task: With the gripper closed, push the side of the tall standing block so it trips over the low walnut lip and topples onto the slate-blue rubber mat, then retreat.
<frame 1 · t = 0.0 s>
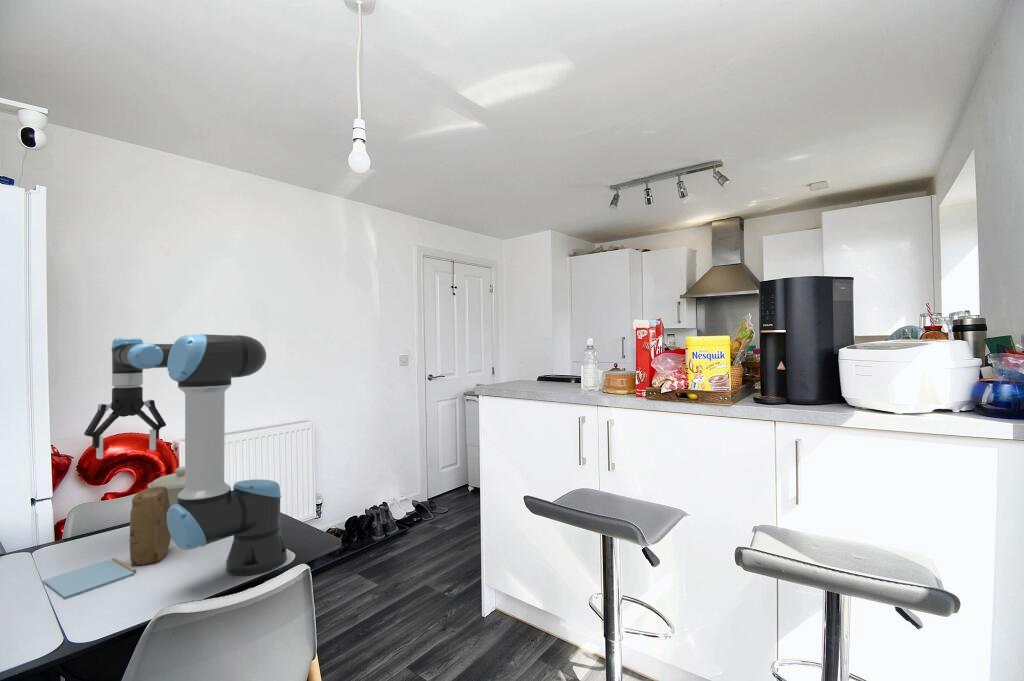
hand: (127, 454, 146), 28 cm above the table, tool pointing down, fingers open, 13 cm apart
canister: (181, 529, 157), on the table
mat: (89, 578, 124), on the table
block: (151, 558, 135), on the table
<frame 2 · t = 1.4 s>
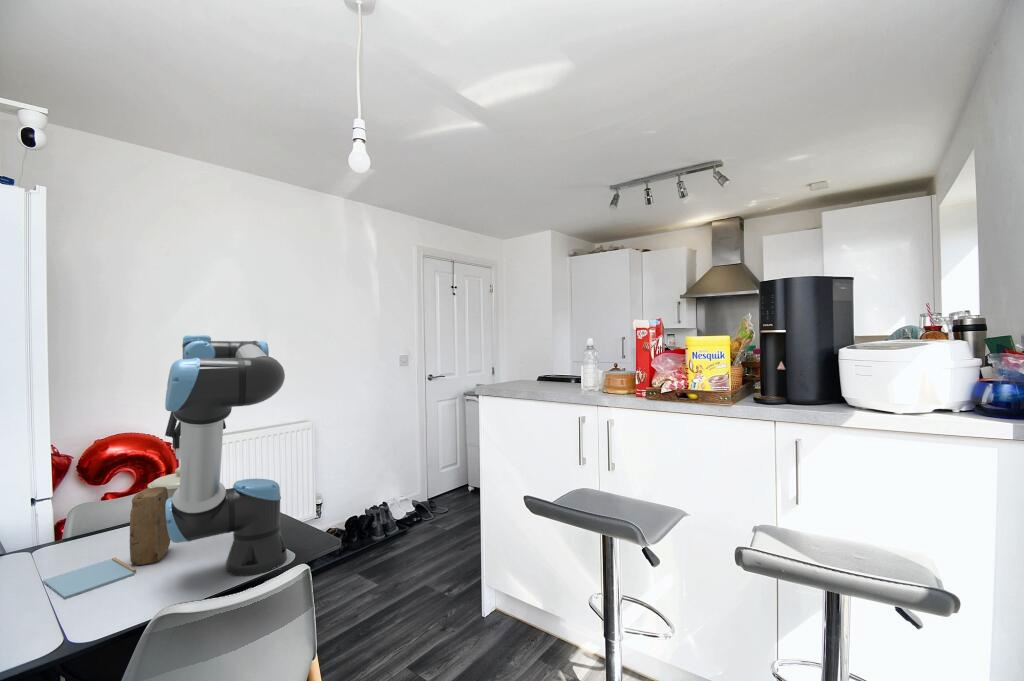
hand: (196, 455, 146), 27 cm above the table, tool pointing down, fingers open, 9 cm apart
nothing on the table moved.
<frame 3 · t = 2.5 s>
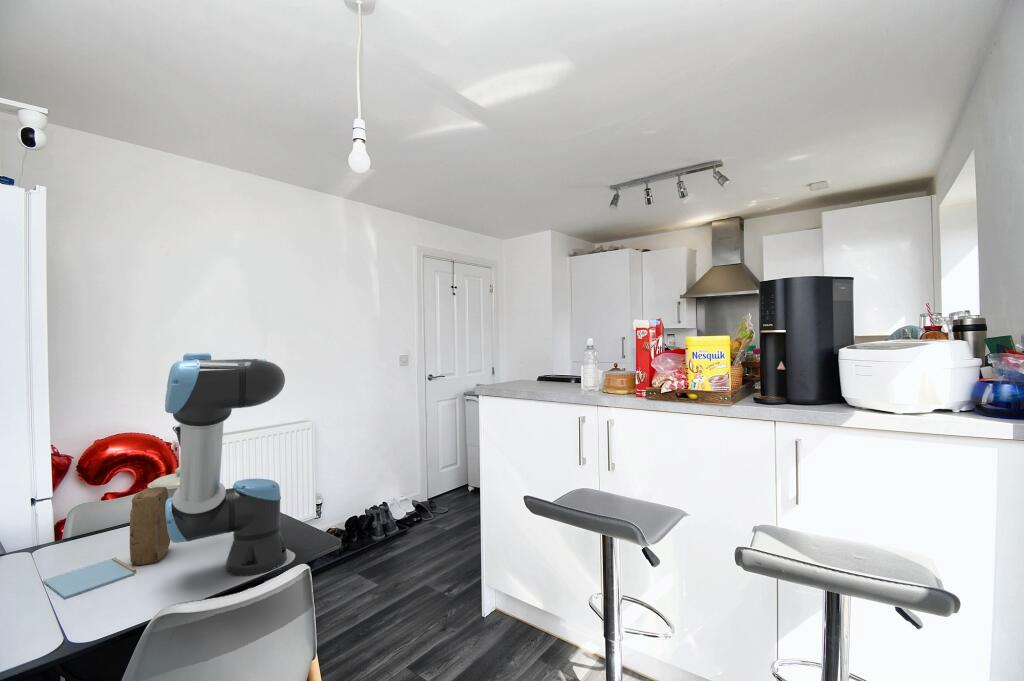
hand: (196, 476, 146), 21 cm above the table, tool pointing down, fingers closed
nothing on the table moved.
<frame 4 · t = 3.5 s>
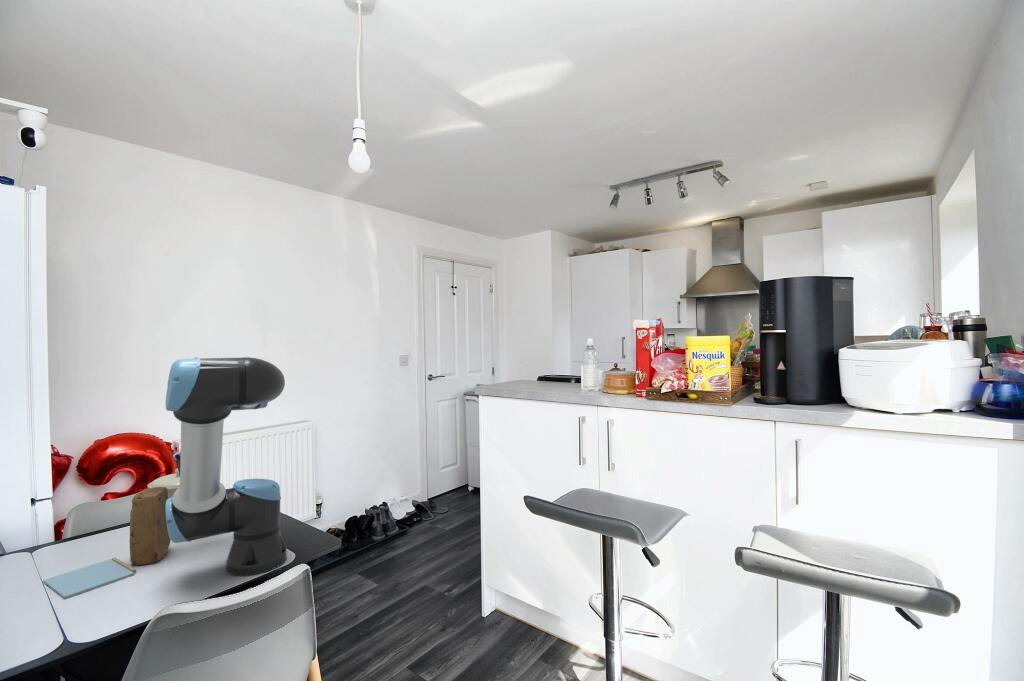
hand: (196, 503, 146), 12 cm above the table, tool pointing down, fingers closed
nothing on the table moved.
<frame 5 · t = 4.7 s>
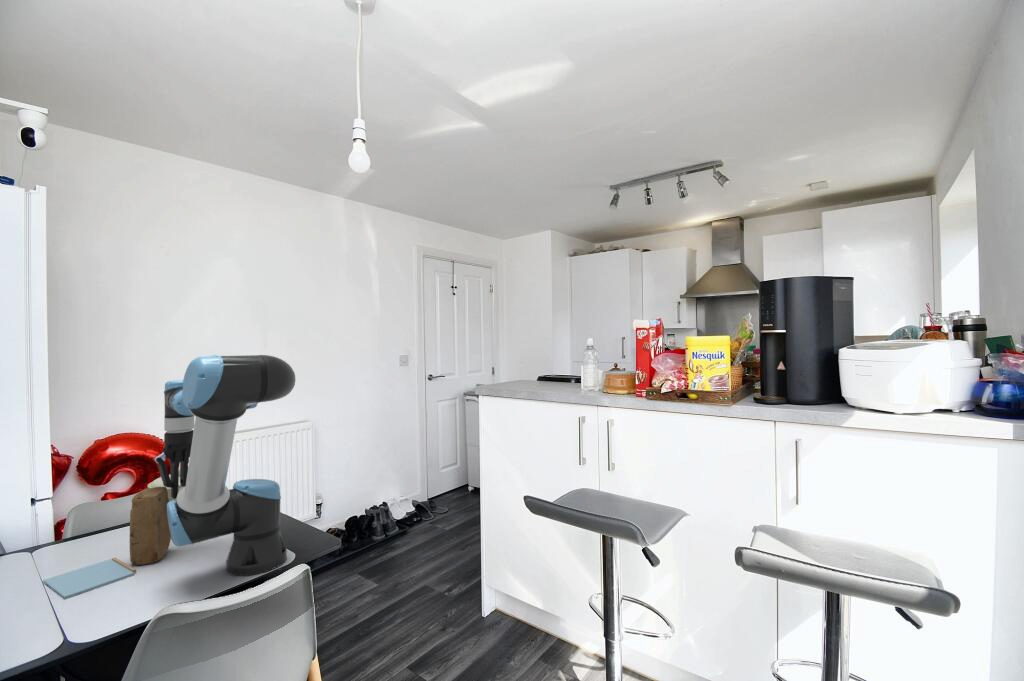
hand: (179, 507, 142), 12 cm above the table, tool pointing down, fingers closed
block: (151, 558, 135), on the table, touching gripper, hand
everything else where it was.
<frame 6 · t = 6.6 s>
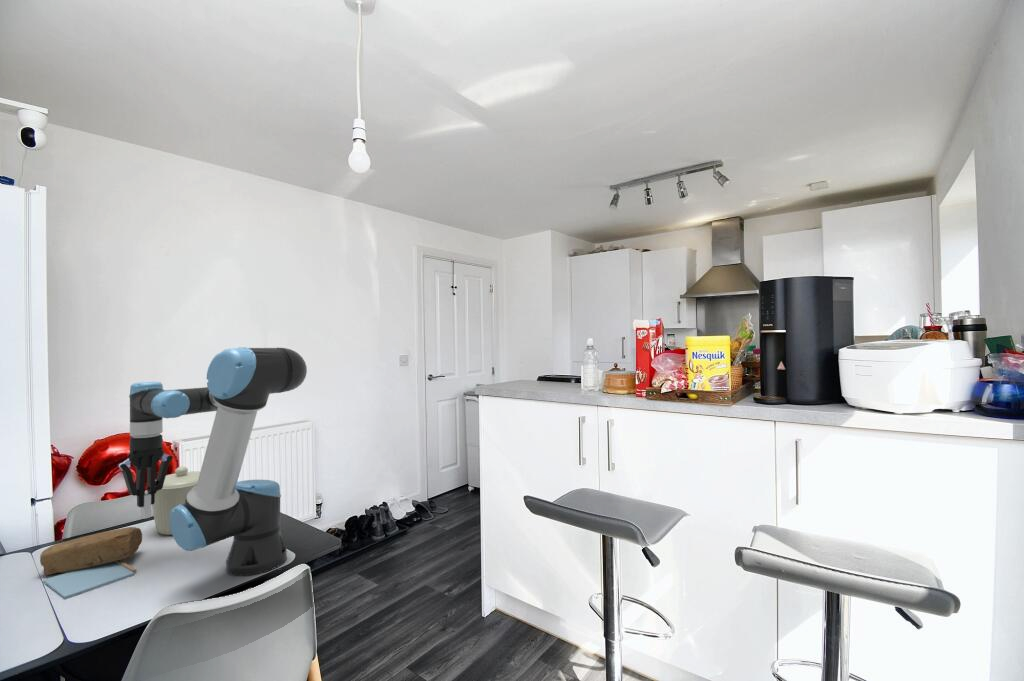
hand: (145, 516, 134), 12 cm above the table, tool pointing down, fingers closed
block: (137, 539, 135), point 5 cm above the table, touching mat
everything else where it was.
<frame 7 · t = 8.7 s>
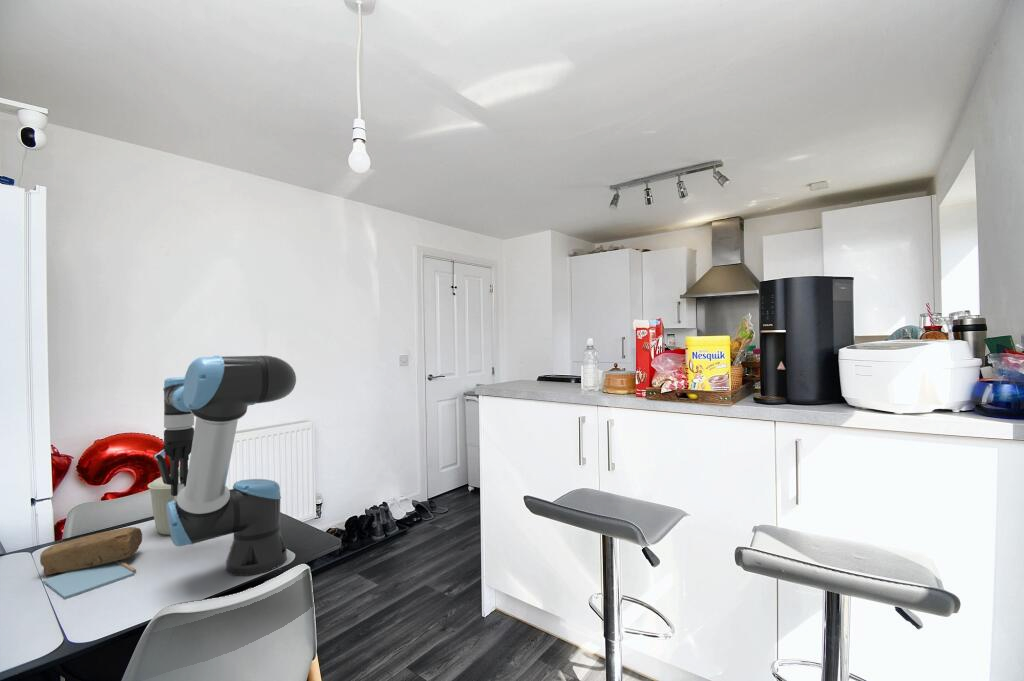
hand: (179, 505, 141), 13 cm above the table, tool pointing down, fingers closed
nothing on the table moved.
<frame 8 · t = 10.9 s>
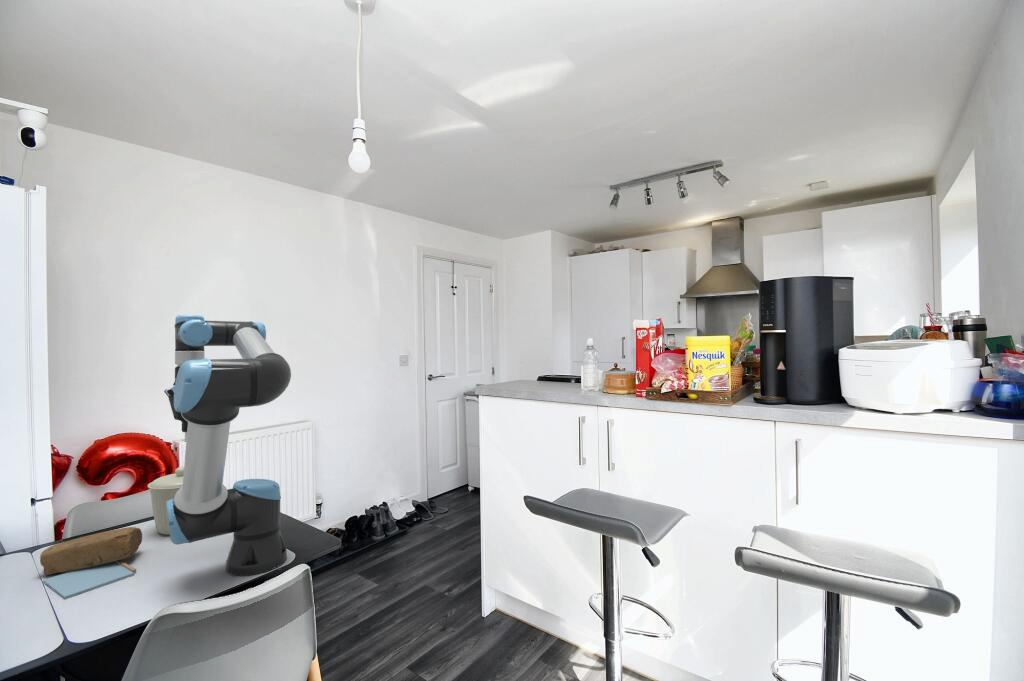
hand: (189, 442, 143), 32 cm above the table, tool pointing down, fingers closed
nothing on the table moved.
at the end: block tilted 96°; block inside the target area (11.3 cm from its centre), point 5.4 cm above the table; block moved 6.7 cm from its start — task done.
